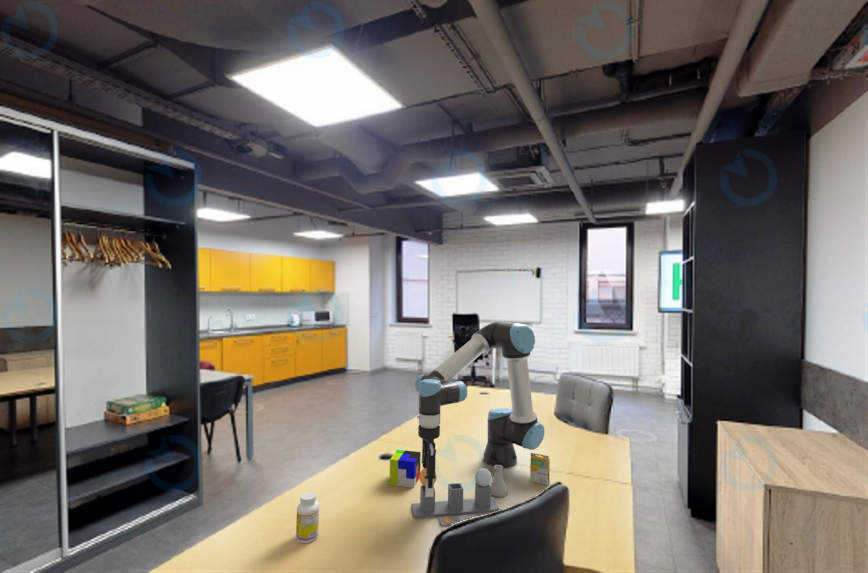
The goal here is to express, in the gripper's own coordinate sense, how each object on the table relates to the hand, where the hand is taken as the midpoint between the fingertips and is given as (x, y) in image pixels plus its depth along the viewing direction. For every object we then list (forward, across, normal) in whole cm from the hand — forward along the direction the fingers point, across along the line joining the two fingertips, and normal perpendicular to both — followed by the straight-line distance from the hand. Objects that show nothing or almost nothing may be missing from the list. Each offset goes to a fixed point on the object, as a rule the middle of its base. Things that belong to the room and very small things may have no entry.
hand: (427, 491), depth 140 cm
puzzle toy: (+7, -24, -5) cm, 26 cm away
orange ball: (-5, 0, 0) cm, 5 cm away
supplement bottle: (+7, +9, -39) cm, 41 cm away
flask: (+7, -9, +29) cm, 31 cm away
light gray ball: (-4, 0, +20) cm, 20 cm away
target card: (+7, +8, +10) cm, 14 cm away
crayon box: (+7, -15, +49) cm, 52 cm away
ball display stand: (+7, 0, +10) cm, 12 cm away
